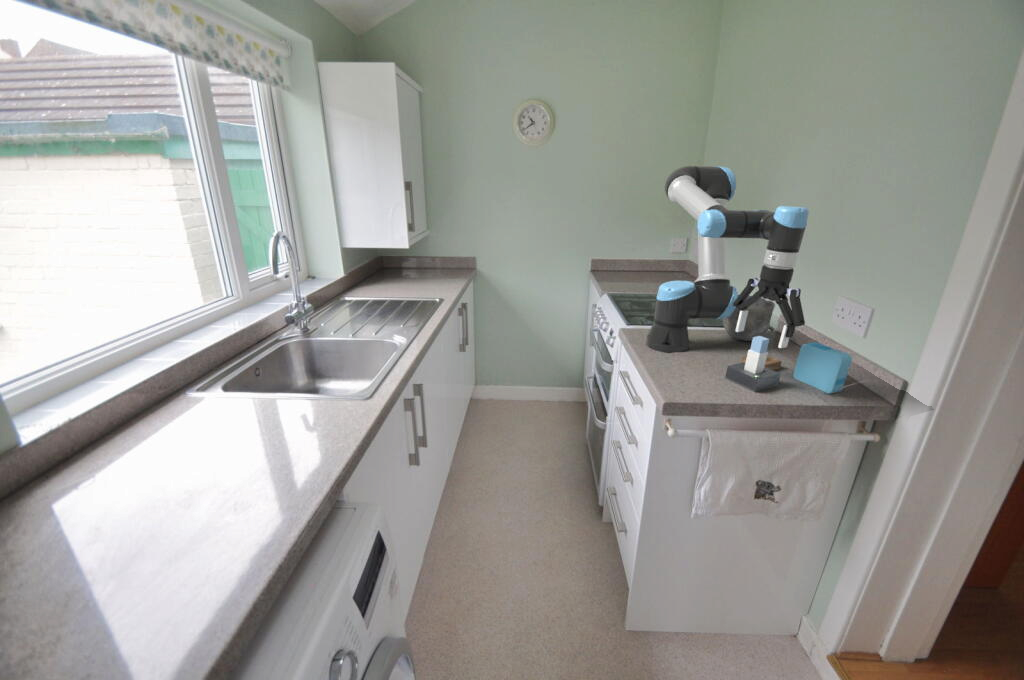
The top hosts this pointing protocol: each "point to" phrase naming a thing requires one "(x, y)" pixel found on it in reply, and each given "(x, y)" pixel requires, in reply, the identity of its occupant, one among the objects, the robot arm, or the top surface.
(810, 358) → the data package
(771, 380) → the port
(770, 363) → the frame
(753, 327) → the grey metal pot
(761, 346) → the plug
